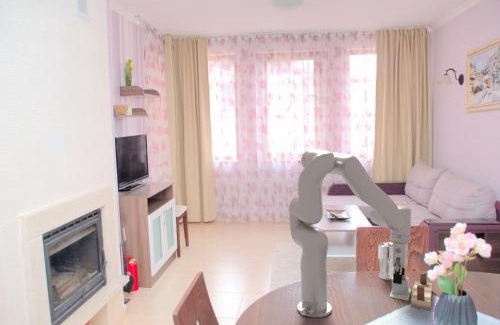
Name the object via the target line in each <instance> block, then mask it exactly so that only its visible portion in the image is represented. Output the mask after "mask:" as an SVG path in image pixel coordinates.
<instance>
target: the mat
mask: <svg viewBox="0 0 500 325" xmlns="http://www.w3.org/2000/svg"><path fill="white" fill-rule="evenodd" d="M411 291H412V289H411V288H409V293H408V296H405V295H398V294H392V289H391V292H390V294H389V298H391V299H396V300H403V301H409V300H410V297H411V293H412V292H411Z"/></svg>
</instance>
